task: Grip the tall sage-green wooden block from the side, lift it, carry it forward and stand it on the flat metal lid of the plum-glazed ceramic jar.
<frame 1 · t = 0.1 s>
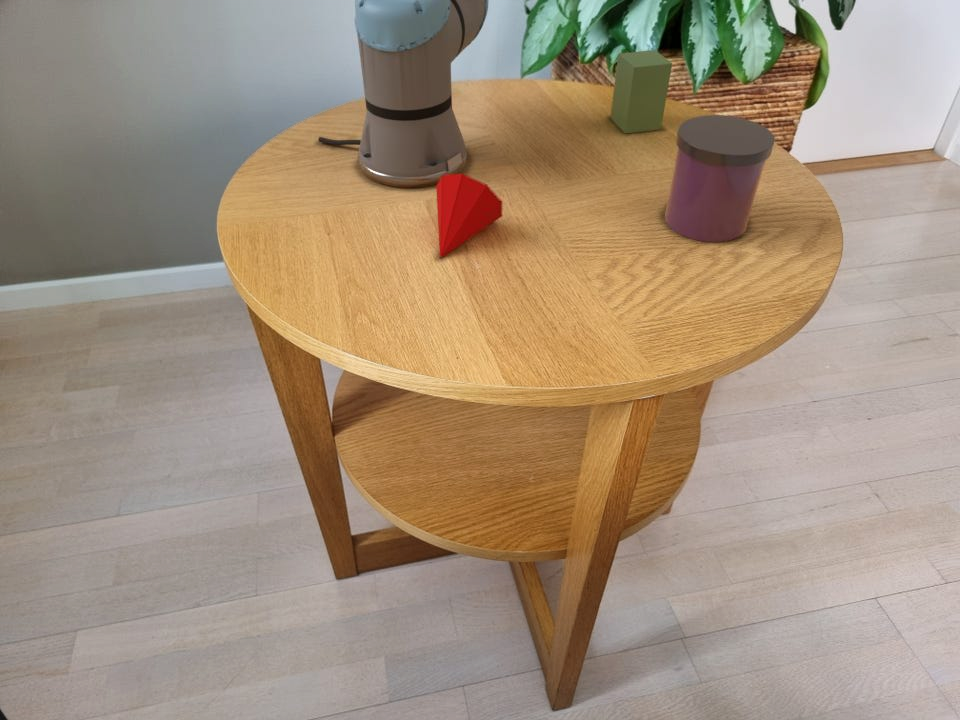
gemstone: (465, 238, 86), on the table
green block: (635, 123, 110), on the table
jar: (705, 220, 88), on the table
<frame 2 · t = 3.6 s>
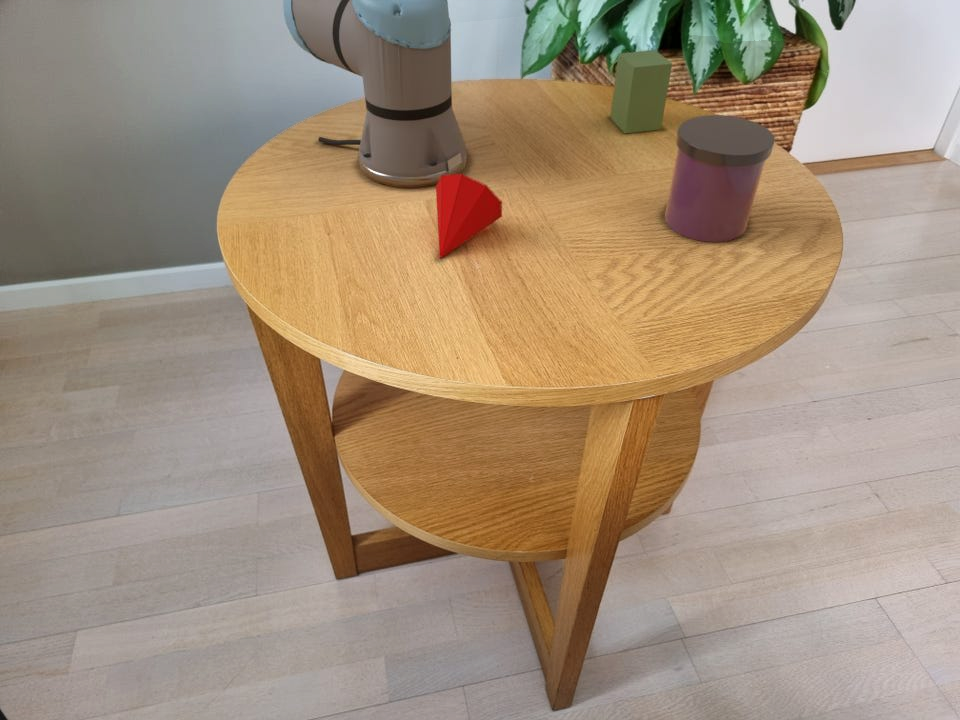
nothing on the table moved.
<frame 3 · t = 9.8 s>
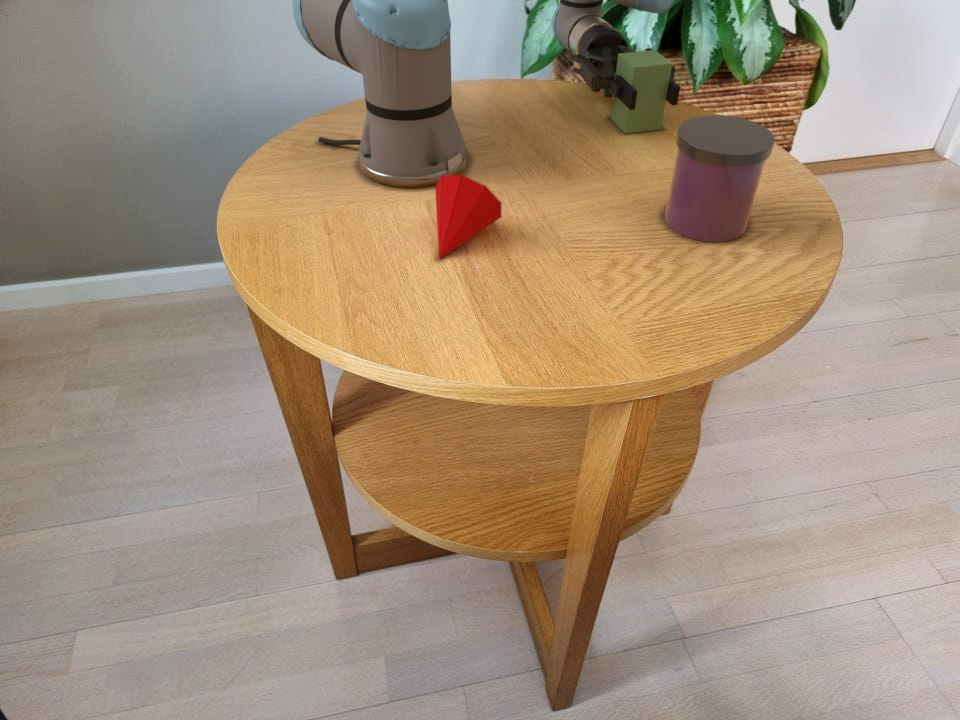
hand: (655, 98, 102), 6 cm above the table, tool horizontal, fingers closed on green block, 6 cm apart
green block: (635, 123, 110), on the table, touching gripper
everything else where it was.
when the fingers open (17 cm above the table, at t = 20.3 s): green block stays where it is, resting on jar.
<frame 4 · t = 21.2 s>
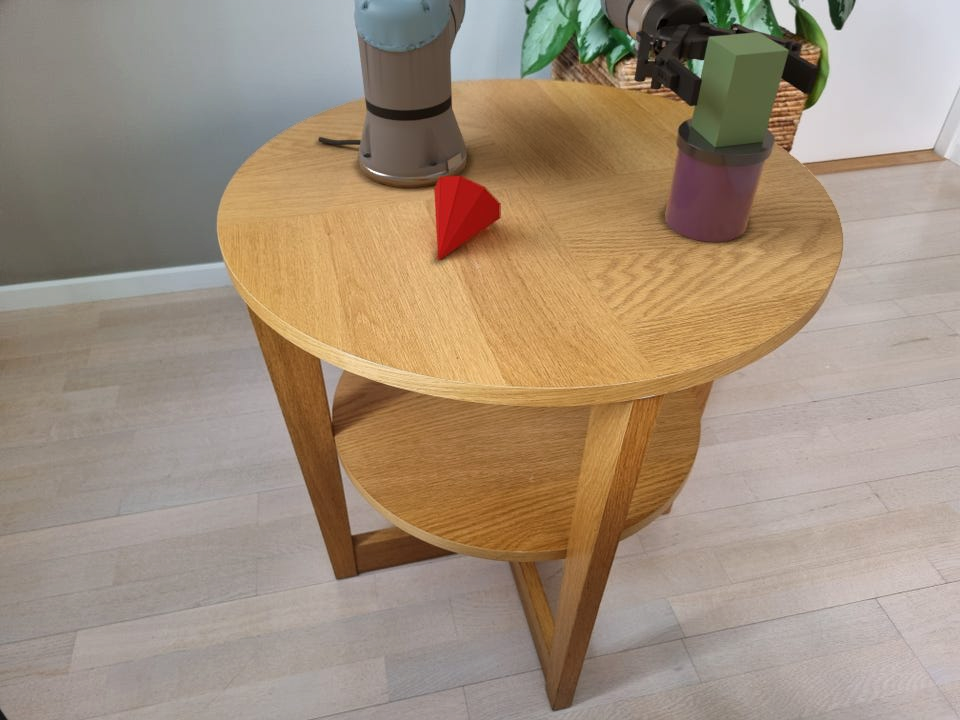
hand: (755, 87, 74), 18 cm above the table, tool horizontal, fingers open, 13 cm apart
green block: (726, 133, 80), point 11 cm above the table, touching jar
everything else where it was.
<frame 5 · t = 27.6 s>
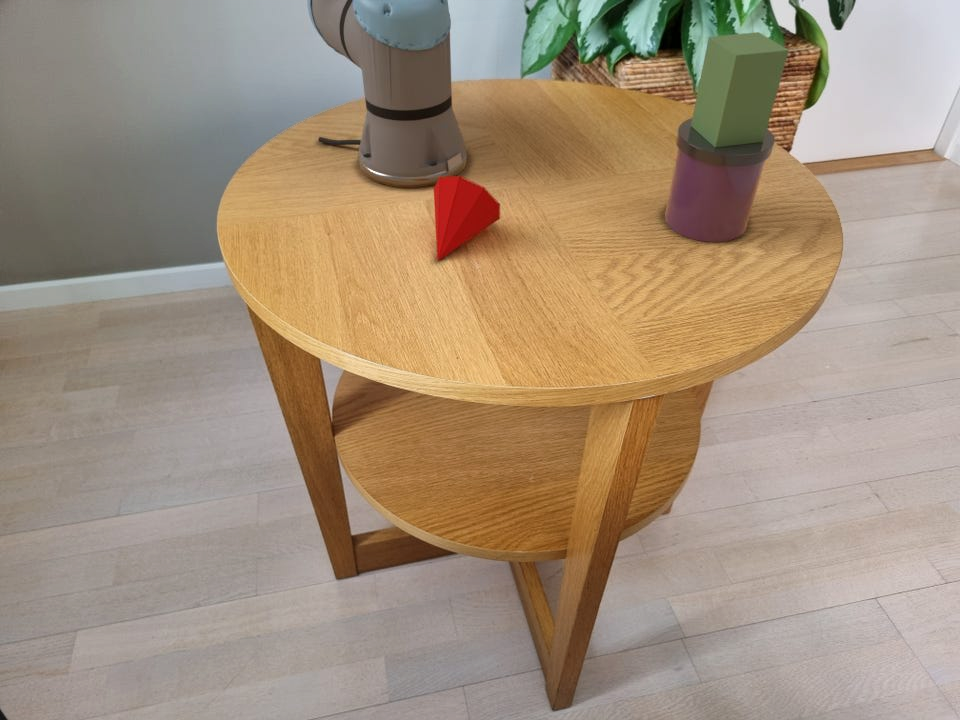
nothing on the table moved.
at the end: green block 0.0 cm off-centre on the jar, point 11.4 cm above the jar's base; green block tilted 0°; the gripper is holding nothing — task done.
